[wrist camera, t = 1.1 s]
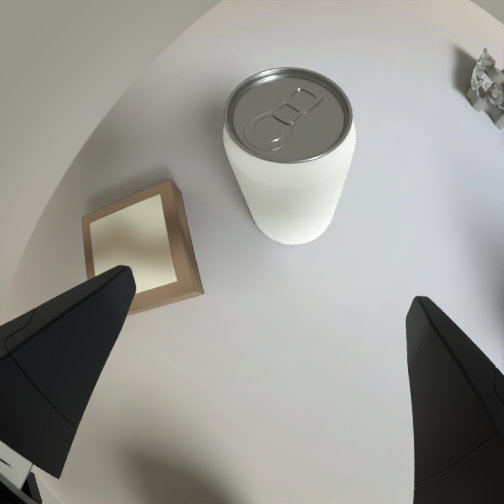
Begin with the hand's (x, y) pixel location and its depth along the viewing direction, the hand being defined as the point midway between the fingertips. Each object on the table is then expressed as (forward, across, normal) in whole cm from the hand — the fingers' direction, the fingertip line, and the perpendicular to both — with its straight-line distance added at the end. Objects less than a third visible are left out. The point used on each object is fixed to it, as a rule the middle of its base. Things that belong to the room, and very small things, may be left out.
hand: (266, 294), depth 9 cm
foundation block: (+11, +12, +8) cm, 18 cm away
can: (+15, 0, +4) cm, 16 cm away
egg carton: (+28, -24, -9) cm, 38 cm away
